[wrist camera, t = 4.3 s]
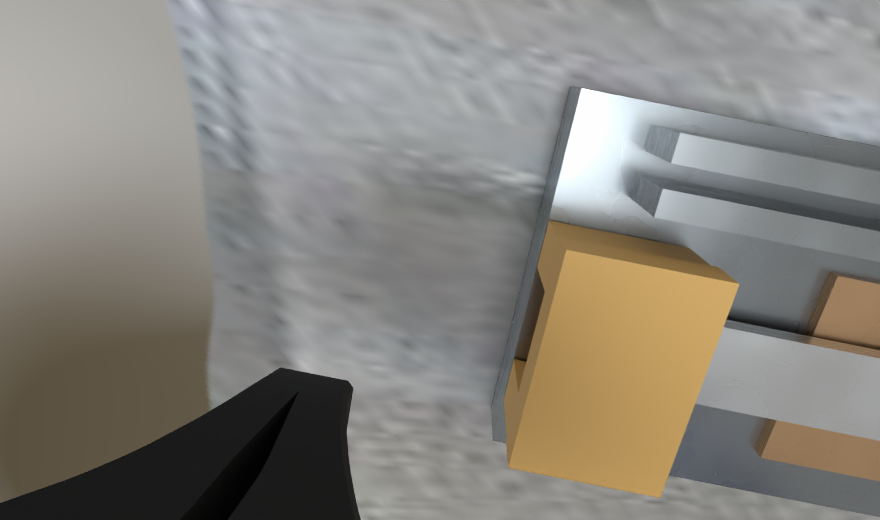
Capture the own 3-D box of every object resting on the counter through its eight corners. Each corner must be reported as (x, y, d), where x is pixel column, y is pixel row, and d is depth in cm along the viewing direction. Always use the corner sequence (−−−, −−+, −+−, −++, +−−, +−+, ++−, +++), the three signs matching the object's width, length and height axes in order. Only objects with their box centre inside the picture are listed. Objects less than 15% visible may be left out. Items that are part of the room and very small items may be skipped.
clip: (629, 427, 18) (660, 497, 15) (503, 401, 18) (508, 467, 15) (690, 244, 16) (739, 283, 13) (549, 216, 16) (566, 249, 13)
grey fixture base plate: (1048, 516, 21) (1194, 629, 16) (491, 406, 21) (494, 491, 16) (1237, 218, 17) (1481, 264, 13) (570, 86, 17) (599, 90, 13)
